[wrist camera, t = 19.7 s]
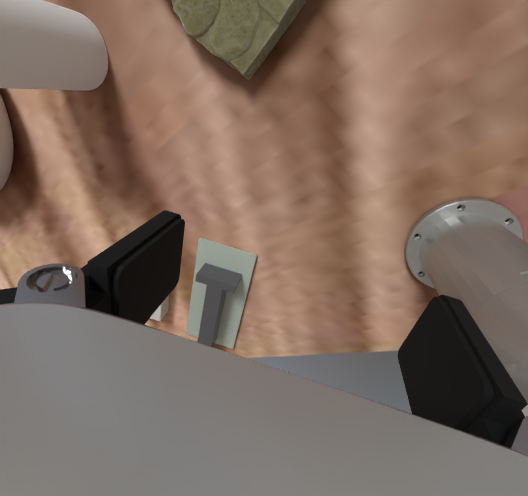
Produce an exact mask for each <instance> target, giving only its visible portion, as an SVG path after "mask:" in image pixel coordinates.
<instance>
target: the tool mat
mask: <svg viewBox="0 0 528 496" xmlns="http://www.w3.org/2000/svg"><path fill="white" fill-rule="evenodd" d="M256 257H257V255H256V254H253V253H249V252H246V251H243V250H240V249H236V248H233V247H230V246H227V245H223V244H220V243H217V242H214V241H210V240H207V239H204V238H201V237H200V238H199V241H198V249H197V256H196V264H195V271H194V278H193V286H192V293H191V301H190V308H189V316H188V323H187V331H186V334H189V335H192V336H195V337H198V336H199V330H200V323H201V317H202V311H203V305H204V299H205V293H206V287H207V285H206V284H203V283H199V282H196V281H195V279H196V274H197V273H198V272H199V270H200V269H201V268H202V266H203V265H204V264H205V263H208V264H211V265H214V266H217V267H220V268H224V269H227V270H230V271H233V272H236V273H240V274H242V276H241V281H240V283H239V285H238V287H237V289H236V291H235V293H231V292H228V291H227V292H226V297H225V302H224V306H223V311H222V316H221V321H220V326H219V330H218V335H217V340H216V342H215V343H216V344H219V345H222V346H225V347H228V348H231V349H233V348H234V344H235V340H236V336H237V332H238V328H239V324H240V321H241V317H242V313H243V309H244V305H245V301H246V297H247V293H248V289H249V285H250V281H251V277H252V273H253V269H254V265H255V261H256Z"/></svg>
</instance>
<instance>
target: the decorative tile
mask: <svg viewBox="0 0 528 496" xmlns="http://www.w3.org/2000/svg"><path fill="white" fill-rule="evenodd" d="M171 1H172V5H173V10H174V12H175V14H176V15H177V16H178V17H179V18H180V21H181V23H182V25H183V28H184V30H185V32H186V34H187V35H188V36H190V37H192V38H194V39H196V40H197V41H198V42H199V43H200V44H202V45H203V46H204V47H205V48H206V49H208V50H209V51H210V52H211V53H212V54H213V55H215V56H217V57H219V58H221V59H222V60H224V61H225V63H227V64H228V65H229V66H230V67H232V68H233V69H235V70H236V71H238V72H239V73H240V74H241V75H242V76H243V77H245V78H246V79H247V80H250V79H251V78H252V76H253V75H254V74H255V72H256V71H257V70H258V68H259V67H260V66H261V64H262V63H263V62H264V60H265V59H266V57H267V56H268V55H269V53H270V52H271V51H272V49H273V48H274V46H275V45H276V44H277V42H278V41H279V40H280V38H281V37H282V35H283V34H284V33H285V31H286V30H287V28H288V27H289V26H290V24H291V23H292V22H293V20H294V19H295V17H296V16H297V14H298V13H299V12H300V10H301V9H302V7H303V6H304V4H305V3H306V1H307V0H171Z"/></svg>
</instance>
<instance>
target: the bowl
mask: <svg viewBox="0 0 528 496" xmlns="http://www.w3.org/2000/svg"><path fill="white" fill-rule="evenodd" d="M12 162H13V136H12V130H11V125H10V120H9V117H8V113H7V110H6V107H5V104H4V102H3V99H2V97H1V94H0V190H1V189H2V188H3V186H4V185H5V183H6V181H7V179H8V177H9V174H10V171H11V167H12Z"/></svg>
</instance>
